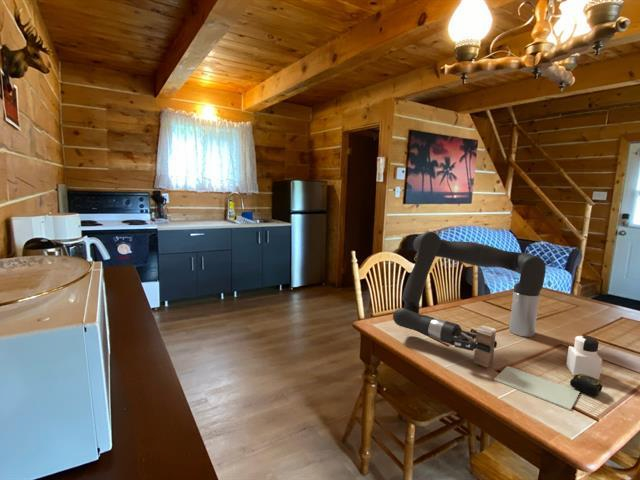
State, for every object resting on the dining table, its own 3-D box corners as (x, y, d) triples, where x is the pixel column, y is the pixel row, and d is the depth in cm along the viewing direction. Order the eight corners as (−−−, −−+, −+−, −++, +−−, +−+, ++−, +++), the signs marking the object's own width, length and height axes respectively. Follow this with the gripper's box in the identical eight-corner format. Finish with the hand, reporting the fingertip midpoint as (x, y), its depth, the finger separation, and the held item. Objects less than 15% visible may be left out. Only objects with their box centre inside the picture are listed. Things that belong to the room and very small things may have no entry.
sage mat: (507, 366, 117) (507, 365, 117) (579, 393, 103) (580, 391, 103) (493, 380, 109) (493, 378, 109) (570, 410, 95) (570, 409, 95)
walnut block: (479, 357, 120) (482, 325, 118) (492, 362, 117) (496, 329, 115) (473, 362, 117) (476, 328, 115) (487, 367, 114) (490, 333, 112)
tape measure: (568, 388, 105) (569, 377, 105) (577, 382, 109) (579, 370, 108) (595, 400, 100) (597, 388, 99) (604, 392, 103) (605, 381, 103)
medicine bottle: (590, 369, 117) (595, 335, 115) (599, 380, 110) (605, 344, 108) (565, 365, 119) (570, 332, 117) (573, 375, 112) (578, 341, 110)
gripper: (435, 326, 121) (485, 343, 109) (454, 316, 130) (502, 330, 118) (433, 346, 122) (483, 365, 110) (452, 335, 132) (500, 351, 120)
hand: (493, 347), depth 114 cm, fingers closed on walnut block, 4 cm apart
